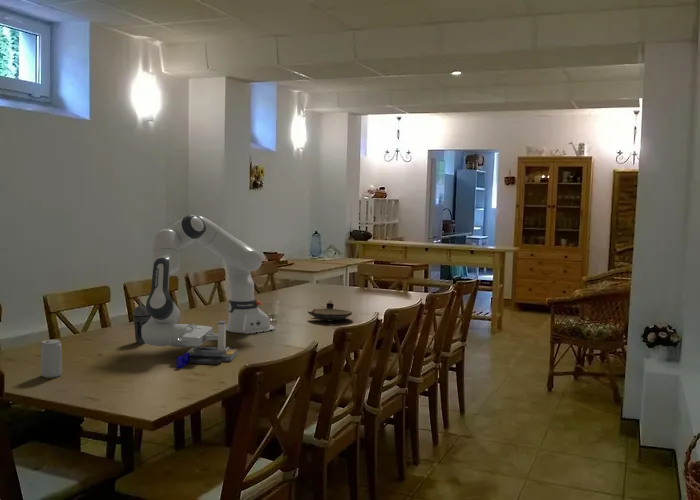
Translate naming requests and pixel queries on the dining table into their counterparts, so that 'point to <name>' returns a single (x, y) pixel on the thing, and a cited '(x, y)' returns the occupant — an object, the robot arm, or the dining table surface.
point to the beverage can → (51, 358)
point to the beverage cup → (140, 321)
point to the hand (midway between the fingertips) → (218, 337)
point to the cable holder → (183, 360)
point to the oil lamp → (330, 313)
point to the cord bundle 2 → (205, 361)
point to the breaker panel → (212, 353)
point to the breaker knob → (221, 335)
